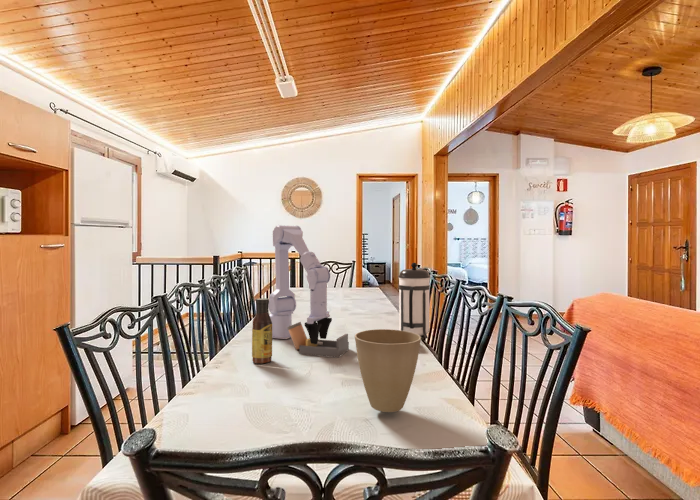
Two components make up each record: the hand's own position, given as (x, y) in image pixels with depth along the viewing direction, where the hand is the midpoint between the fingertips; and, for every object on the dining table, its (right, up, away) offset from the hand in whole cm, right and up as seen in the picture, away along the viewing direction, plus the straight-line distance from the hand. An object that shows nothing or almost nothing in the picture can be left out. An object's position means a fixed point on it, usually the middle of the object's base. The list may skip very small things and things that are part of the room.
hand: (318, 340), depth 135 cm
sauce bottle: (-17, -4, -12) cm, 21 cm away
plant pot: (+19, -4, -47) cm, 51 cm away
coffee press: (+37, -4, +21) cm, 43 cm away
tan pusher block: (-1, -3, 0) cm, 3 cm away
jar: (-6, -3, +2) cm, 7 cm away
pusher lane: (+2, -4, -1) cm, 4 cm away
